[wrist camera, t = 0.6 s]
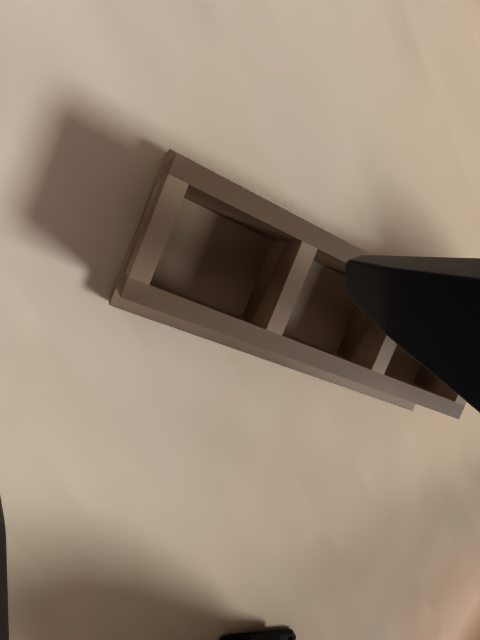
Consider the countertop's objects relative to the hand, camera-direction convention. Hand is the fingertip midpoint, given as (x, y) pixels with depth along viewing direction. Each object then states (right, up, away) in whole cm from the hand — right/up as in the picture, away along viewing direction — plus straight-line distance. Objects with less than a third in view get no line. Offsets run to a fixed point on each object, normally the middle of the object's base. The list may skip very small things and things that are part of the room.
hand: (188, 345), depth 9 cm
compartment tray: (+6, +2, +18) cm, 19 cm away
